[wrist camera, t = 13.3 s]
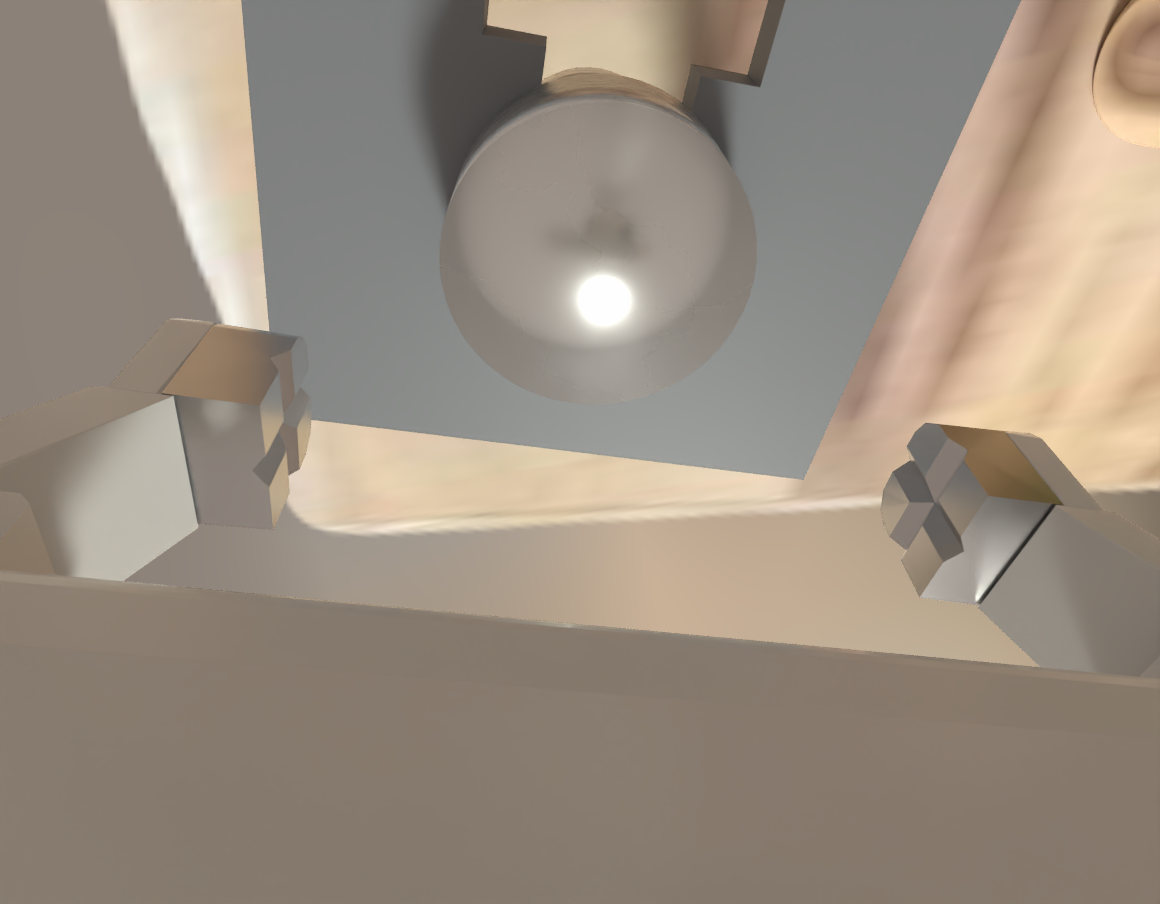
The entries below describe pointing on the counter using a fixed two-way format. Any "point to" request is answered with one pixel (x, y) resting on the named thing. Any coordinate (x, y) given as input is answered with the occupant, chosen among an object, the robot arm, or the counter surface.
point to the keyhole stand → (735, 121)
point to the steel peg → (596, 241)
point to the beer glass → (1131, 75)
